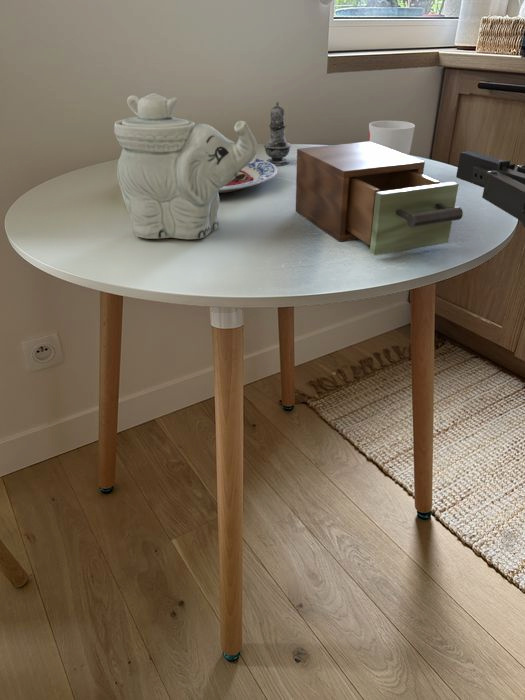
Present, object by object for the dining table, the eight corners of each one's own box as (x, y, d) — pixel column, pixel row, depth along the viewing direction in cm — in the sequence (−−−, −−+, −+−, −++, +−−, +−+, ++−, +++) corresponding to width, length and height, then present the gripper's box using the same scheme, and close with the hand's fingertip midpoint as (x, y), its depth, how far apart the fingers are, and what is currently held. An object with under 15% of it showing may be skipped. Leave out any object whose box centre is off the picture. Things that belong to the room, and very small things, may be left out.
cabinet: (415, 229, 81) (425, 161, 75) (339, 241, 77) (344, 171, 71) (363, 201, 92) (369, 141, 87) (295, 211, 88) (296, 148, 83)
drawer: (469, 253, 70) (482, 192, 66) (392, 268, 67) (401, 204, 62) (392, 213, 84) (398, 160, 80) (325, 223, 81) (328, 168, 76)
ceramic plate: (274, 164, 115) (274, 149, 113) (281, 200, 93) (281, 183, 92) (152, 166, 114) (150, 151, 113) (130, 203, 93) (128, 186, 91)
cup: (380, 172, 108) (386, 119, 103) (415, 180, 103) (423, 124, 98) (355, 180, 103) (360, 124, 98) (391, 189, 98) (398, 130, 93)
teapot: (262, 232, 80) (260, 93, 70) (179, 261, 71) (164, 106, 61) (193, 208, 90) (183, 83, 80) (114, 230, 81) (91, 93, 71)
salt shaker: (273, 157, 119) (273, 98, 113) (296, 161, 117) (297, 100, 110) (258, 163, 115) (257, 102, 109) (281, 167, 113) (281, 104, 106)
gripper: (590, 292, 41) (409, 204, 60) (706, 265, 45) (502, 191, 64) (625, 193, 37) (419, 132, 56) (748, 174, 41) (518, 123, 60)
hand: (463, 164), depth 60 cm, fingers closed
